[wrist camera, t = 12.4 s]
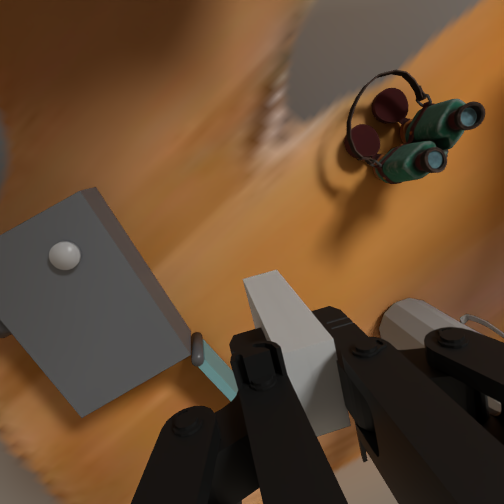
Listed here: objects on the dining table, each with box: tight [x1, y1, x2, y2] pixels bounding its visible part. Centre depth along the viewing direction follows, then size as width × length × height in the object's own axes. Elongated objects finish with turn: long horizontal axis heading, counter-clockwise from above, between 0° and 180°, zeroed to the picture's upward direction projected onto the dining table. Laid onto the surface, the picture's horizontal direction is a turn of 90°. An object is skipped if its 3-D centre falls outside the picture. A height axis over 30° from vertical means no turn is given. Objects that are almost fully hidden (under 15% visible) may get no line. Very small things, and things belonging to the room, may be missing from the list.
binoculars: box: [344, 70, 485, 184], centre depth 35 cm, size 9×11×10 cm
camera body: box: [0, 187, 191, 418], centre depth 36 cm, size 18×14×6 cm
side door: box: [191, 332, 238, 401], centre depth 41 cm, size 2×13×5 cm, turn 38°
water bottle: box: [379, 298, 504, 412], centre depth 34 cm, size 9×8×25 cm
